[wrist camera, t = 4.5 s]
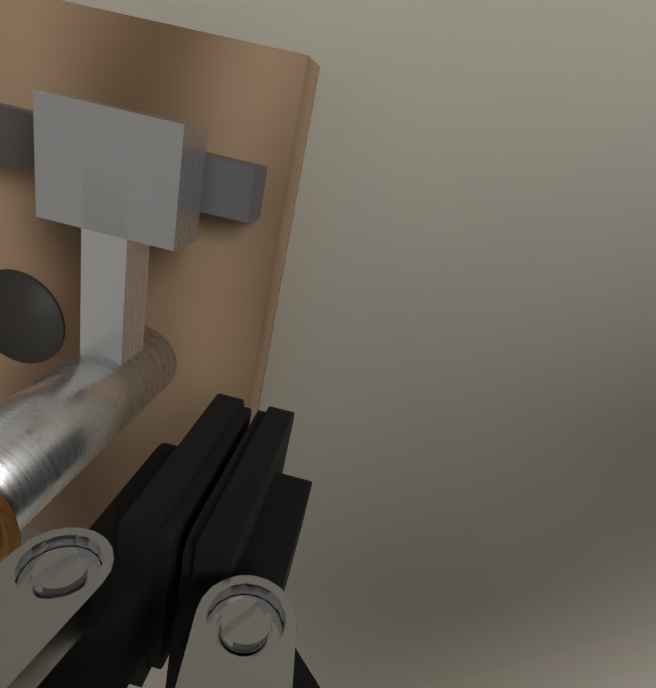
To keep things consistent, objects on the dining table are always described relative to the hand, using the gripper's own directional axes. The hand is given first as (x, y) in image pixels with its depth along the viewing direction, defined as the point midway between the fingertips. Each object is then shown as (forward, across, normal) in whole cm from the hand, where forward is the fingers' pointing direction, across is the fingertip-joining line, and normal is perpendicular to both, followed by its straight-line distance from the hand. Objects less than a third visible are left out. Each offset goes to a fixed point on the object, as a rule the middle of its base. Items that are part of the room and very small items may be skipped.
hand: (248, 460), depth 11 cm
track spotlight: (+3, +4, -3) cm, 5 cm away
